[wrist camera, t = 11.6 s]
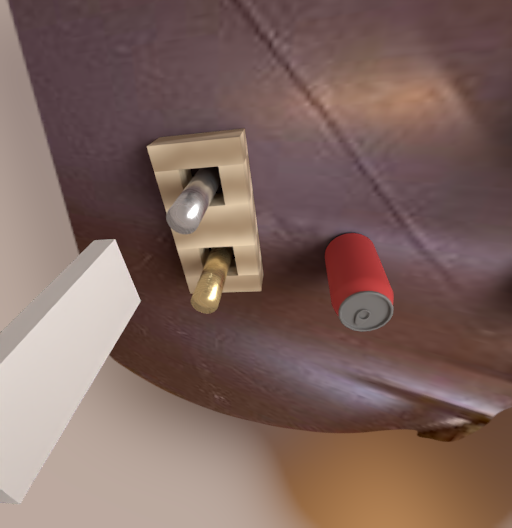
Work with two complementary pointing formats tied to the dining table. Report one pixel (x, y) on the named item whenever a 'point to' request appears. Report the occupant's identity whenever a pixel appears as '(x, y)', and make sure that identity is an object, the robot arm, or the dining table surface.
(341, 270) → the beer can
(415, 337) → the dining table surface
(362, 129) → the dining table surface
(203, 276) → the brass pin
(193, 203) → the steel pin
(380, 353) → the dining table surface
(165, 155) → the pin block
